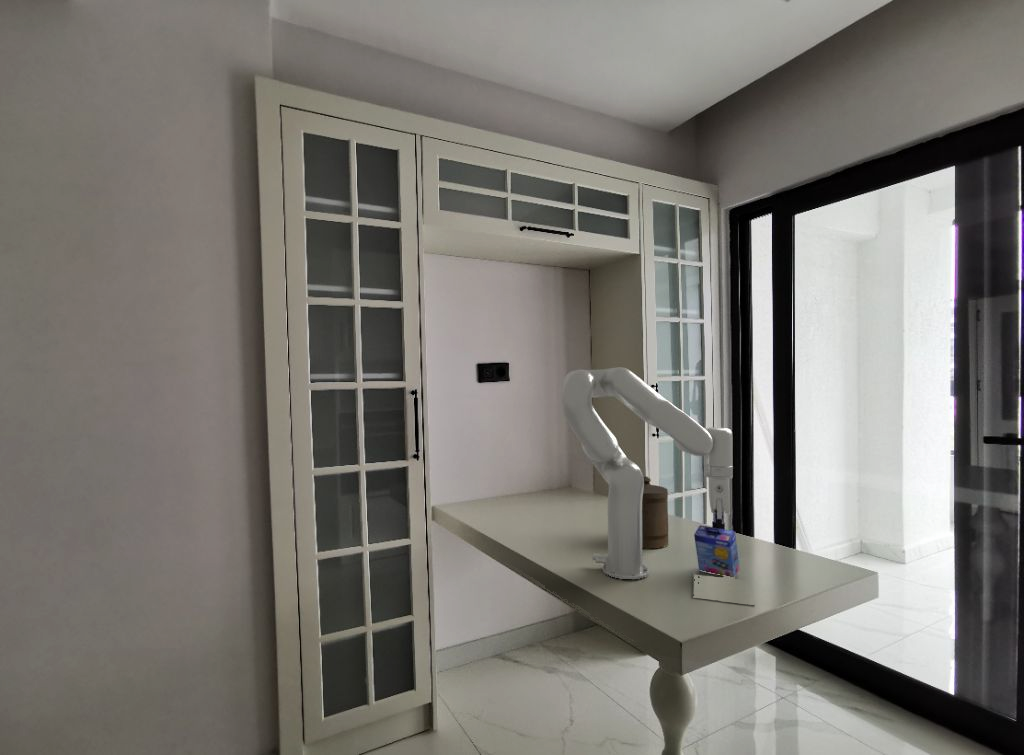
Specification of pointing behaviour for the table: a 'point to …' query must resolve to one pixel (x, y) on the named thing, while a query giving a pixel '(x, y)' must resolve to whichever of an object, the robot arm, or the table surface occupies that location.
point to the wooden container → (654, 515)
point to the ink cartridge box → (717, 551)
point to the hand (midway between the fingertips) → (718, 536)
